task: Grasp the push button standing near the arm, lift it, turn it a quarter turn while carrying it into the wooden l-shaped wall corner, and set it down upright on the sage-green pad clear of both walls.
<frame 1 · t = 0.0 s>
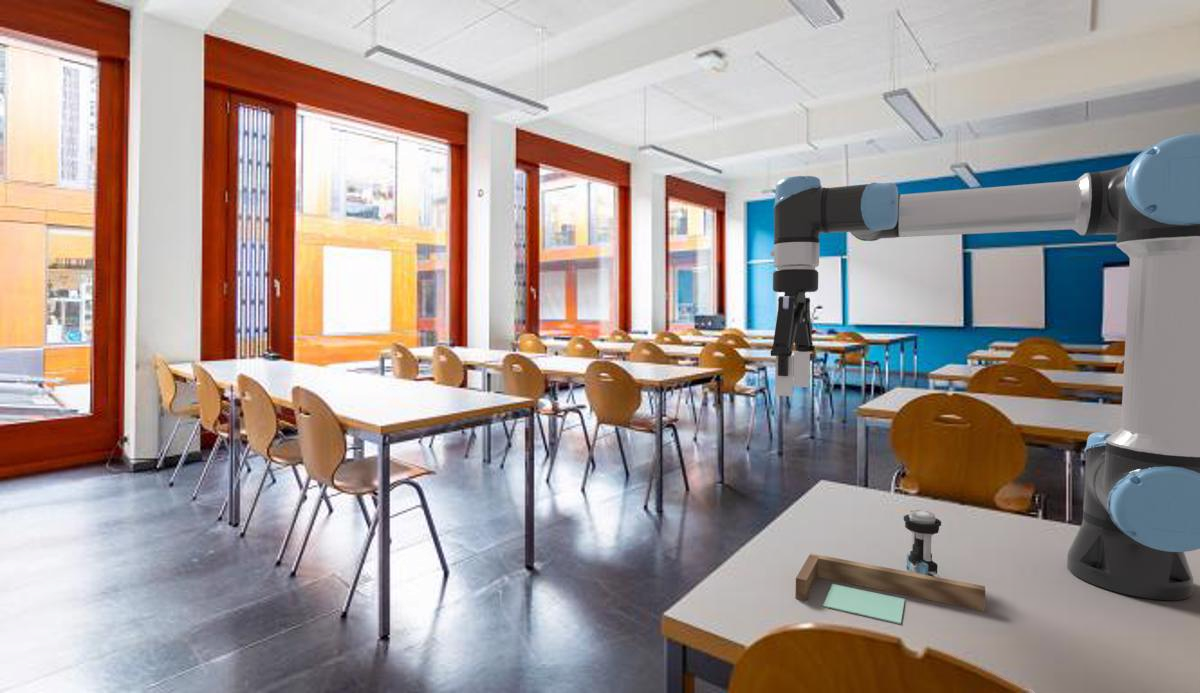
hand: (792, 391, 109), 28 cm above the table, fingers open, 13 cm apart
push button: (923, 577, 99), on the table
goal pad: (864, 603, 90), on the table
wooden l-shaped wall: (888, 602, 90), on the table
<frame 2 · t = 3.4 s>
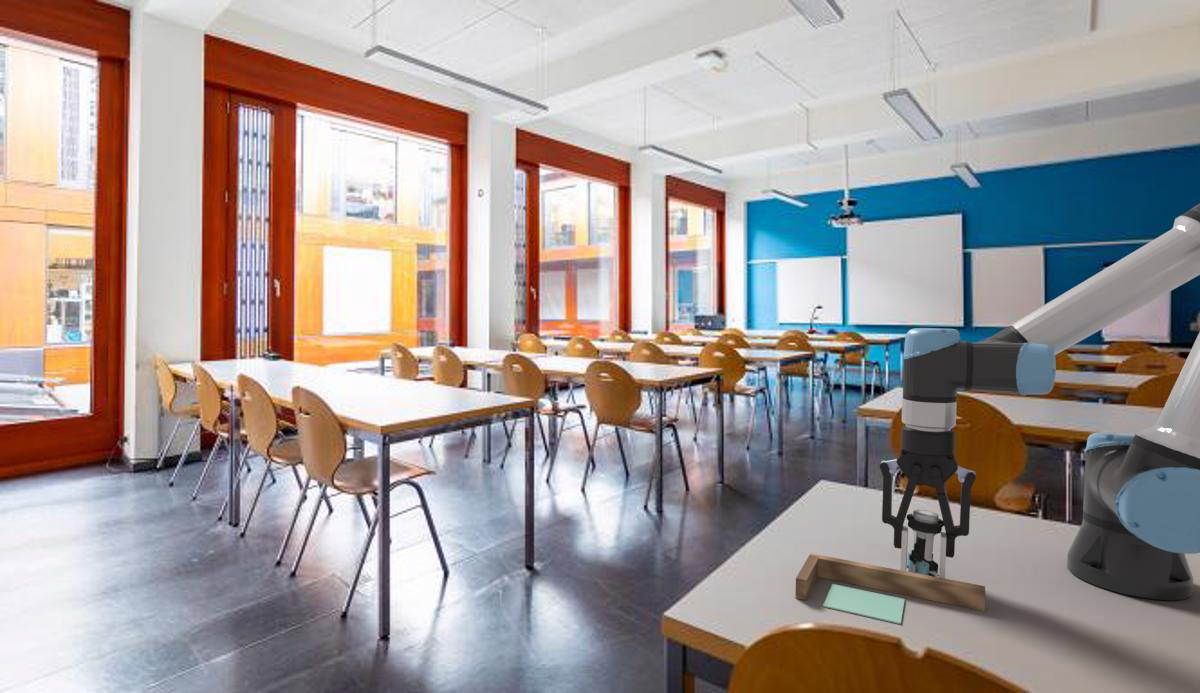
hand: (922, 571, 99), 1 cm above the table, fingers closed on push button, 5 cm apart
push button: (922, 577, 99), on the table, touching gripper
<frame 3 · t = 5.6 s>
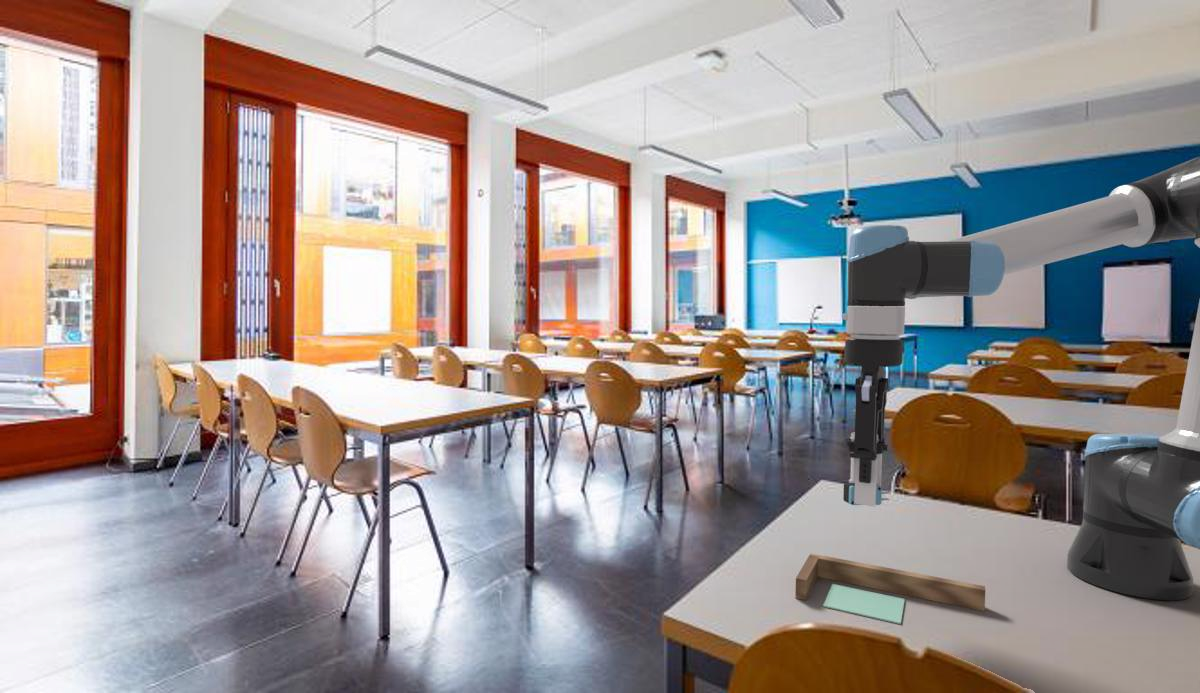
hand: (867, 499, 89), 15 cm above the table, fingers closed on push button, 5 cm apart
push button: (867, 504, 89), point 14 cm above the table, touching gripper
when the fingers open (1 cm above the table, at t = 7.9 s): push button stays where it is, resting on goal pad.
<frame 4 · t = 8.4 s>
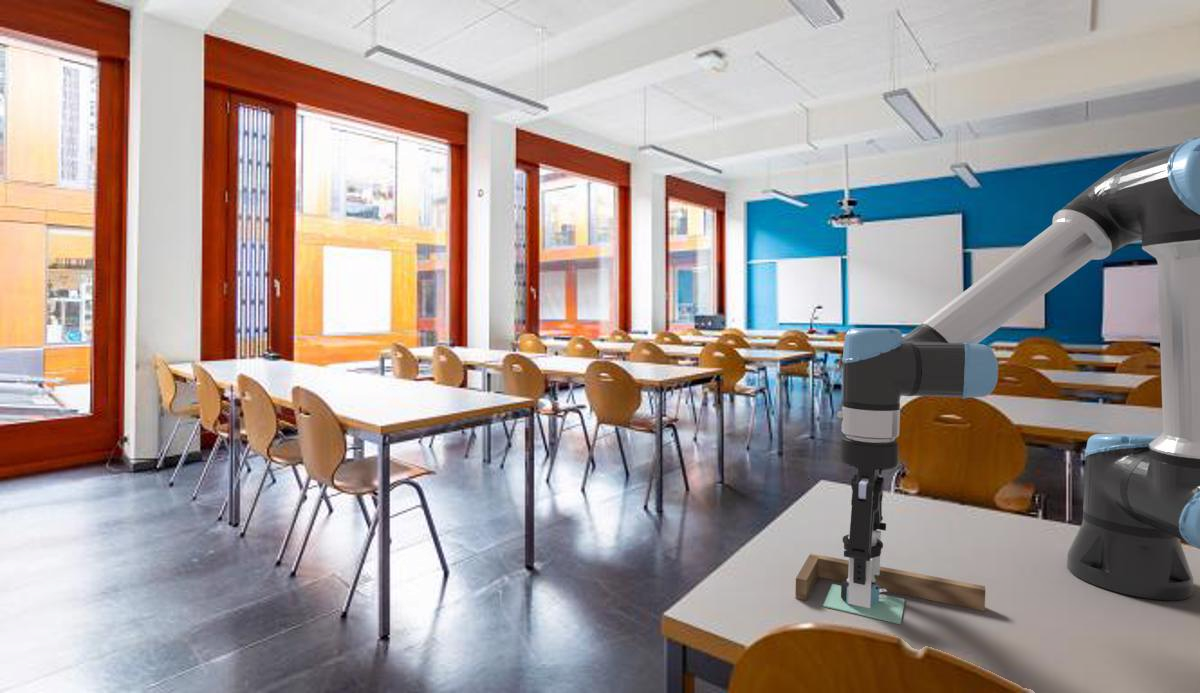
hand: (864, 588, 89), 2 cm above the table, fingers open, 11 cm apart
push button: (864, 602, 90), resting on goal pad
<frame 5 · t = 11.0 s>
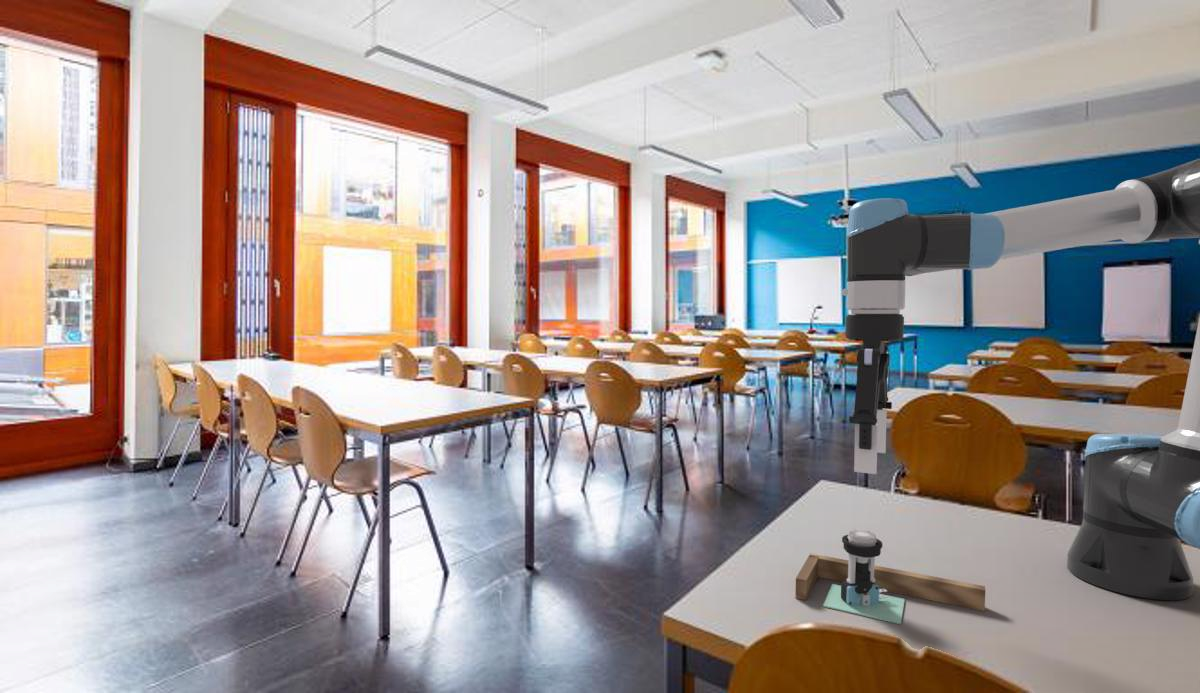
hand: (870, 461, 89), 21 cm above the table, fingers open, 13 cm apart
nothing on the table moved.
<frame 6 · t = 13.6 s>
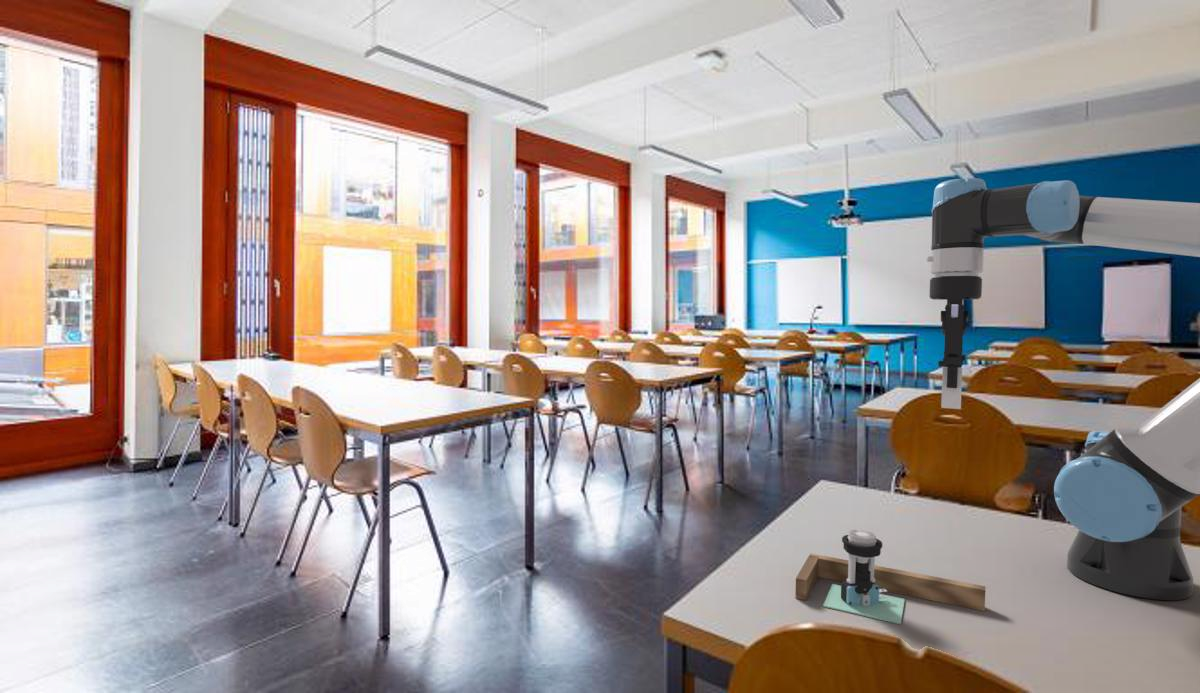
hand: (951, 403, 104), 27 cm above the table, fingers open, 13 cm apart
nothing on the table moved.
at the end: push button inside the target area on the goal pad (0.1 cm from its centre), point 0.0 cm above the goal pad's base; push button tilted 0°; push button touching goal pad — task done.
